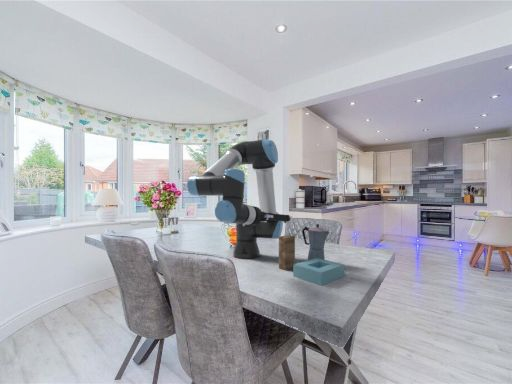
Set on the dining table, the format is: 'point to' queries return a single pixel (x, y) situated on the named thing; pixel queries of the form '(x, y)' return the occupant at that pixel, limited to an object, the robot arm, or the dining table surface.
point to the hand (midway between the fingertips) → (278, 219)
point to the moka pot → (316, 241)
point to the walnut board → (286, 252)
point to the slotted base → (318, 271)
